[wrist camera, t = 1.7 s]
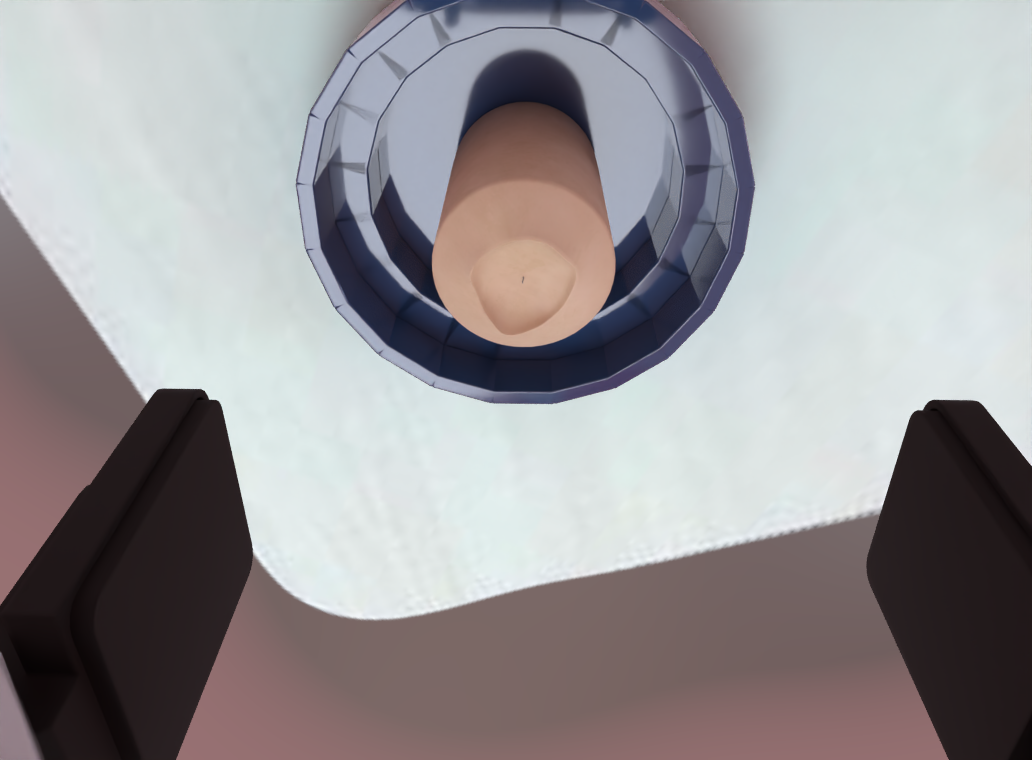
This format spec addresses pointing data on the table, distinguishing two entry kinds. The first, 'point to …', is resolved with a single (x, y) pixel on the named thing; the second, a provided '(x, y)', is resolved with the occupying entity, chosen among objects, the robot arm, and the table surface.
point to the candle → (524, 229)
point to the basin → (620, 158)
